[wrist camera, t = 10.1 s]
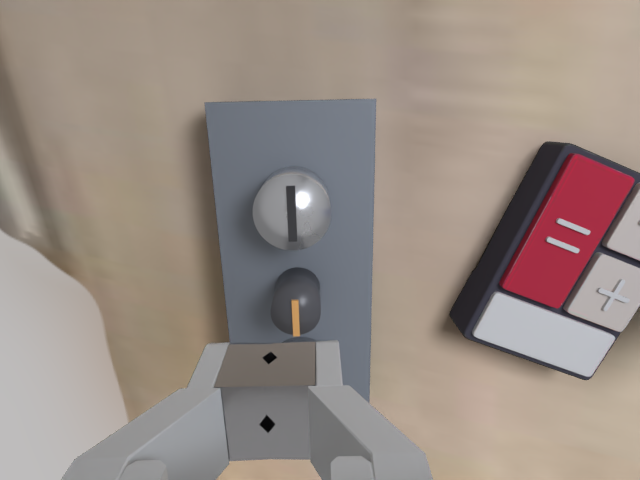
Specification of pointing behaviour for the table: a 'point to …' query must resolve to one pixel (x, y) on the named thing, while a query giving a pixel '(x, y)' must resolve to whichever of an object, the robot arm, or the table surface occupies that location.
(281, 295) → the dial
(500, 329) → the calculator
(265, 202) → the knob
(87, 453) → the robot arm
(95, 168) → the table surface
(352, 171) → the panel
